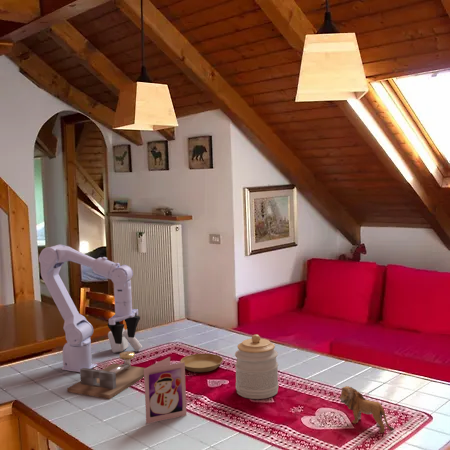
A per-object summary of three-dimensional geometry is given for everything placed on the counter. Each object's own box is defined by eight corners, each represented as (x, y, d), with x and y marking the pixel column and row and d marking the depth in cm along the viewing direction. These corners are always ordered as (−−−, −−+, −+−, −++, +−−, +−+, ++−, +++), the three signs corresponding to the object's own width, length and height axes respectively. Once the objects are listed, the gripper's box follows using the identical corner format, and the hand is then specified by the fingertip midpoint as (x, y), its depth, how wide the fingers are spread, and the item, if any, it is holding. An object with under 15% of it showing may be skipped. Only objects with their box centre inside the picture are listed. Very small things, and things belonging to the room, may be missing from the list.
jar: (283, 385, 174) (281, 330, 173) (272, 402, 162) (271, 342, 160) (243, 381, 178) (241, 327, 177) (230, 397, 166) (228, 339, 165)
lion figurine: (336, 421, 148) (336, 388, 148) (345, 414, 153) (345, 382, 152) (390, 435, 139) (390, 400, 139) (398, 428, 143) (398, 394, 143)
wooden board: (67, 391, 174) (66, 372, 174) (113, 366, 196) (112, 350, 195) (109, 399, 168) (108, 379, 167) (152, 372, 189) (152, 355, 189)
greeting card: (147, 424, 149) (144, 369, 148) (139, 414, 156) (137, 361, 155) (187, 416, 154) (185, 363, 153) (178, 406, 161) (176, 355, 159)
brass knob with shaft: (102, 376, 181) (101, 362, 181) (125, 363, 193) (125, 350, 193) (115, 378, 179) (114, 364, 179) (137, 365, 191) (137, 352, 190)
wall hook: (139, 353, 208) (132, 327, 208) (114, 358, 211) (107, 333, 210) (146, 346, 216) (139, 321, 216) (122, 352, 219) (115, 327, 218)
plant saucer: (198, 378, 183) (198, 370, 183) (171, 367, 194) (171, 360, 194) (232, 367, 193) (231, 359, 193) (204, 357, 204) (204, 350, 204)
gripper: (120, 306, 182) (122, 347, 183) (144, 297, 195) (146, 335, 196) (102, 305, 185) (104, 345, 186) (128, 296, 198) (129, 333, 199)
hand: (125, 340), depth 192 cm, fingers open, 7 cm apart
